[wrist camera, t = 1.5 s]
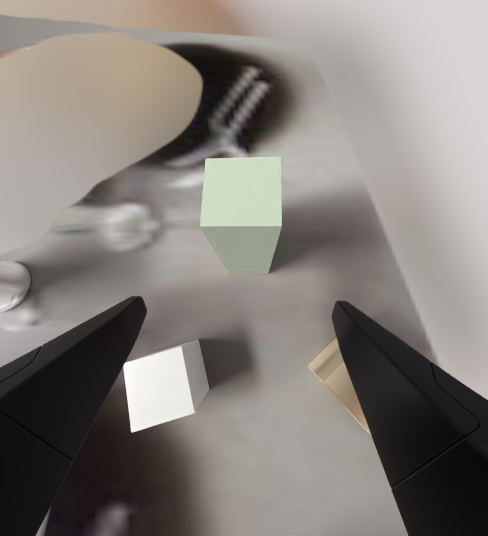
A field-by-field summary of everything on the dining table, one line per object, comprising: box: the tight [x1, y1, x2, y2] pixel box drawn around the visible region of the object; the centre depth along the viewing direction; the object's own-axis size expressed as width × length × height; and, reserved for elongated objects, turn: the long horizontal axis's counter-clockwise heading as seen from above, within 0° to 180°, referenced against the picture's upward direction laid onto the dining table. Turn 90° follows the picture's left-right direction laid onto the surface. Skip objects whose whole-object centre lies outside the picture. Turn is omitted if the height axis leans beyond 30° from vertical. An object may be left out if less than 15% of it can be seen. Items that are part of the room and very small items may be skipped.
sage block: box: [200, 157, 282, 274], centre depth 17 cm, size 4×4×12 cm
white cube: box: [123, 339, 210, 432], centre depth 18 cm, size 5×5×5 cm
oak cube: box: [308, 337, 371, 435], centre depth 17 cm, size 5×5×5 cm
